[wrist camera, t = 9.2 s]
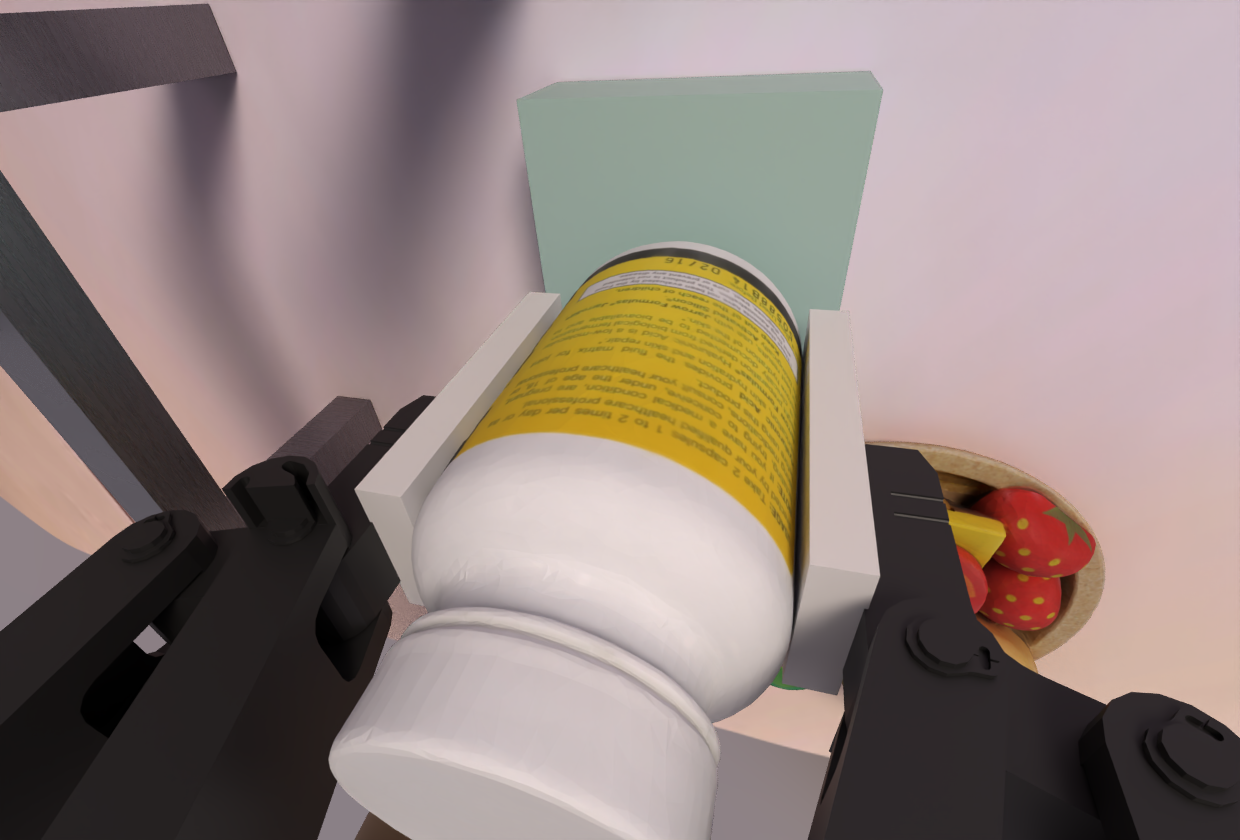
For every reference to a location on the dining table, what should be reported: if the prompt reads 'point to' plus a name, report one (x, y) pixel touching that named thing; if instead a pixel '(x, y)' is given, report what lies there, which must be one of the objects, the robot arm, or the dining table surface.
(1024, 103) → the dining table surface
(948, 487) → the toy food set
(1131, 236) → the dining table surface
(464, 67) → the dining table surface
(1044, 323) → the dining table surface
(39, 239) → the rail hurdle
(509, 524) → the supplement bottle
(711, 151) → the stand
